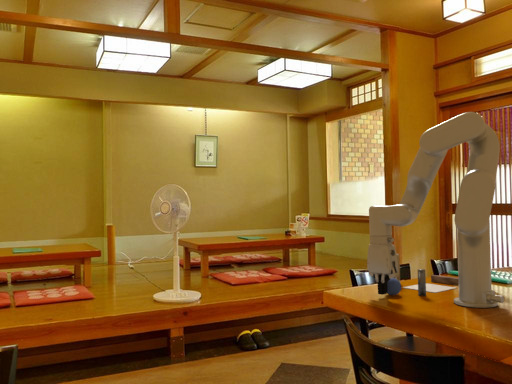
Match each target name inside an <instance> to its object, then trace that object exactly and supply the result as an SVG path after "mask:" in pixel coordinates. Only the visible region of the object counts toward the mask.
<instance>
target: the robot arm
mask: <svg viewBox="0 0 512 384" xmlns="http://www.w3.org/2000/svg"><path fill="white" fill-rule="evenodd" d="M464 143H467V144H468V145H469V148H470V149H469V151H470V152H469V156H468V162H467V163H468V164H467V169H466V173H465V174H464V175H463V178H462V179H461V183H460V186H459V192H458V197H457V202H456V206H455V207H456V208H455V213H454V217H453V218H454V224H455V227H456V231H457V232H456V235H457V237H456V239H457V240H456V243H457V246H456V247H457V248H456V249H457V269H458V270H457V273H458V276H457V278H458V280H459V285H458V296H457V297H455V298H453V303H454V304H456V305H457V306H462V307H467V308H477V309H479V308H481V309H482V308H483V309H488V308H496V307H498V305H499V304H498V303H500V304H503V303H504V302H505V297H504V295H500V294H498V295H497V294H496V290H494V289H492V288H493V287H492V265H491V264H492V263H491V258H492V257H491V254H492V253H491V233H490V232H491V229H490V228H491V226H490V225H491V224H490V222H491V221H490V219H491V218H490V217H491V211H492V208H493V202H494V197H495V191H496V178H497V172H498V166H499V158H500V151H501V149H500V148H501V147H500V146H501V145H500V140H499V137H498V135H497V133H496V132H495V130H494V129H493V128H492V127H491V126H490V125H489V124H487V123H486V122H485V119H484V118H483V117H482V115H480V113H477V112H474V111H467V112H463V113H461V114H458V115H456V116H454V117H451V118H450V119H448V120H446V121H443V122H441V123H440V124H437V125H435V126H432V127H431V128H429V129H427V130H426V131H424V132H423V133H422V134H421V136H420V138H419V149H418V150H417V152H416V155H415V157H414V159H413V161H412V163H411V166H410V168H409V170H408V172H407V181H406V183H407V184H406V187H405V190H404V193H403V195H402V197H401V199H400V201H399V204H398V203H397V204H393V205H387V204H383V205H382V204H379V205H377V204H376V205H371V206H369V207H368V208H369V209H368V222H369V223H368V225H369V229H368V230H369V244H368V247H367V256H366V257H367V259H366V261H367V263H366V264H367V271H368V275H369V276H371V277H373V278H374V279H375V282H376V283H377V294H378V295H382V296H383V295H387V294H388V285H387V282H389V280H390V279H391V278H396V274H395V273H397V272H398V261H397V254H398V253H397V250H396V246H395V244H393V243H394V242H395V238H394V237H393V228H392V227H394V226H395V227H406V226H408V225H409V226H410V225H412V224H413V223H414V222H415V221H416V220H417V218H418V216H419V214H420V212H421V209H422V207H423V206H424V204H425V201H426V199H427V196H428V194H429V191H430V190H431V188H432V186H433V183H434V180H435V179H436V176H437V174H438V171H440V168H441V165H442V164H443V161H444V160H445V157H446V156H447V153H448V151H449V150H450V149H453V148H454V147H457V146H459V145H462V144H464Z"/></svg>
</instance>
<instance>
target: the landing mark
mask: <svg viewBox="0 0 512 384" xmlns="http://www.w3.org/2000/svg"><path fill="white" fill-rule="evenodd" d="M402 288H403V289H407V290H415V291H418V283H417V284H413V285H408V286H403V287H402ZM456 289H457V287H454V286H448V285H443V284H442V285H439V284H434V283H426V293H433V294H437V293H442V292H447V291H449V290H450V291H451V290H456Z"/></svg>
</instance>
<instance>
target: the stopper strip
mask: <svg viewBox="0 0 512 384" xmlns="http://www.w3.org/2000/svg"><path fill="white" fill-rule="evenodd" d="M430 278H431V279H430V281H431V283H439V284H447V285H455V286H459V280H458V277H453V276H445V275H436V274H434V275H433V274H431V275H430Z"/></svg>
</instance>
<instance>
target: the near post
mask: <svg viewBox="0 0 512 384" xmlns="http://www.w3.org/2000/svg"><path fill="white" fill-rule="evenodd" d="M426 274H427V273H426V269H424V268H418V269H417V284H418V290H417V294H418V295H417V296H419V297H425V296H427V292H426V282H427V279H426Z"/></svg>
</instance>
